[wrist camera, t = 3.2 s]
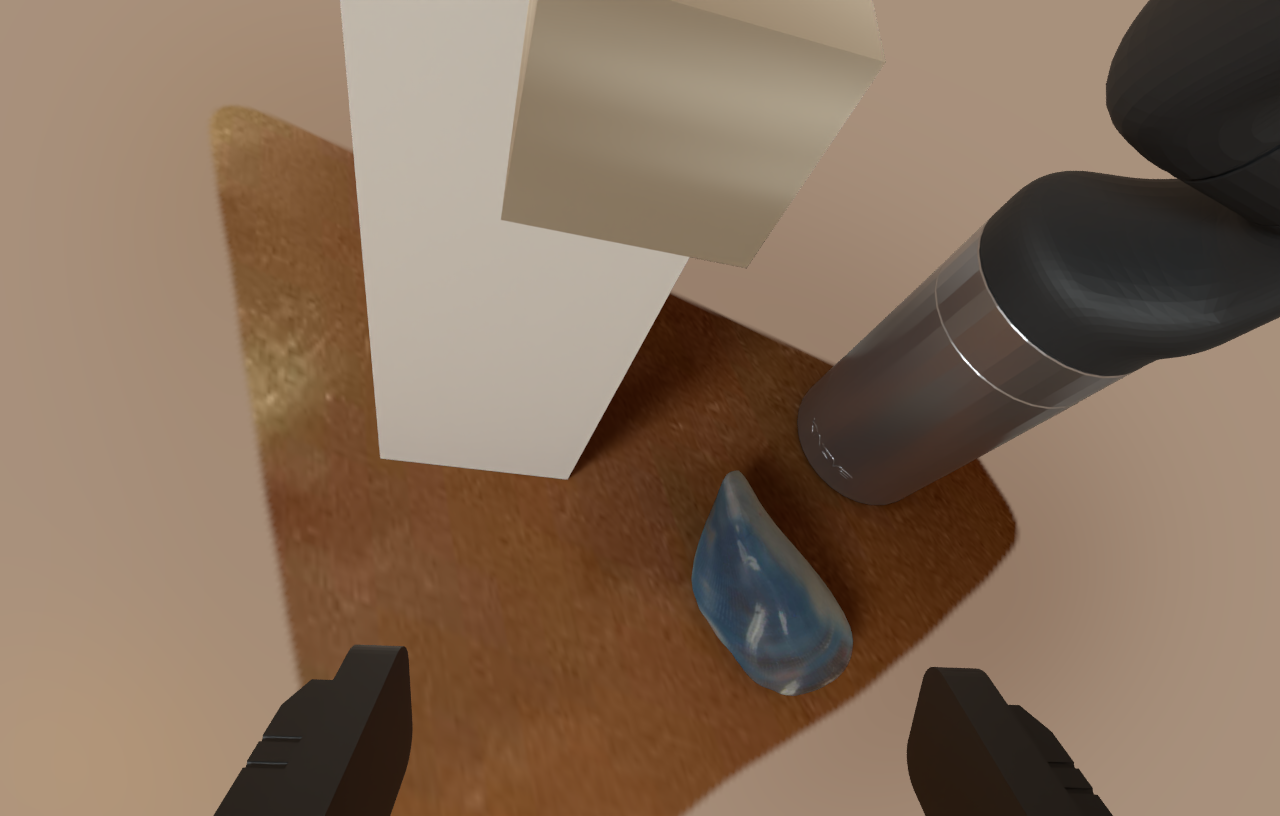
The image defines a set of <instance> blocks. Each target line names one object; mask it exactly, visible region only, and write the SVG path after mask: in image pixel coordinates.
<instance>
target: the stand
mask: <svg viewBox="0 0 1280 816" xmlns="http://www.w3.org/2000/svg"><path fill="white" fill-rule="evenodd" d="M340 4H341V16H342V27H343V38H344V49H345V61H346V72H347V84H348V95H349V107H350V118H351V130H352V141H353V152H354V164H355V175H356V186H357V198H358V209H359V221H360V232H361V243H362V255H363V266H364V278H365V289H366V300H367V312H368V323H369V334H370V346H371V357H372V369H373V380H374V391H375V403H376V414H377V425H378V437H379V448H380V458H382V459H391V460H400V461H409V462H418V463H426V464H435V465H444V466H453V467H462V468H471V469H480V470H488V471H497V472H506V473H515V474H524V475H533V476H541V477H550V478H559V479H568V478H569V476H570V474H571V472H572V470H573V469H574V467H575V465H576V463H577V461H578V460H579V458H580V456H581V454H582V452H583V450H584V449H585V447H586V445H587V443H588V441H589V440H590V438H591V436H592V434H593V432H594V430H595V429H596V427H597V425H598V423H599V421H600V419H601V418H602V416H603V414H604V412H605V410H606V409H607V407H608V405H609V403H610V401H611V399H612V398H613V396H614V394H615V392H616V390H617V389H618V387H619V385H620V383H621V381H622V379H623V378H624V376H625V374H626V372H627V370H628V369H629V367H630V365H631V363H632V361H633V359H634V358H635V356H636V354H637V352H638V350H639V348H640V347H641V345H642V343H643V341H644V339H645V338H646V336H647V334H648V332H649V330H650V328H651V327H652V325H653V323H654V321H655V319H656V318H657V316H658V314H659V312H660V310H661V308H662V307H663V305H664V303H665V301H666V299H667V297H668V296H669V294H670V292H671V290H672V288H673V287H674V285H675V283H676V281H677V279H678V277H679V276H680V274H681V272H682V270H683V268H684V267H685V265H686V263H687V261H688V259H689V257H687V256H681V255H676V254H671V253H666V252H661V251H656V250H651V249H646V248H641V247H636V246H631V245H626V244H621V243H616V242H610V241H605V240H600V239H595V238H590V237H585V236H580V235H575V234H570V233H565V232H560V231H555V230H550V229H545V228H539V227H534V226H529V225H524V224H519V223H514V222H509V221H504V220H501V214H502V206H503V198H504V191H505V183H506V175H507V167H508V159H509V152H510V144H511V136H512V128H513V121H514V113H515V105H516V97H517V89H518V82H519V74H520V66H521V58H522V50H523V43H524V35H525V27H526V19H527V11H528V4H529V0H340Z"/></svg>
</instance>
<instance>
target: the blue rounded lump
mask: <svg viewBox="0 0 1280 816" xmlns="http://www.w3.org/2000/svg"><path fill="white" fill-rule="evenodd" d="M692 587H693V592H694V595H695V597H696V600H697V603H698V606H699V609H700V611H701V612H702V614H703V615H704V616H705V618H706V619H707V621H708V622H709V624H710V626H711V627H712V629H713V631H714V632H715V634H716V635H717V637H718V638H719V639H720V640H721V642H722V643H723V644H724V645H725V646H726V647H727V648H728V649H729V650H730V652H731V653H732V654H733V656H734V657H735V659H736V660H737V662H738V663H739V664H740V665H741V667H742V668H743V669H744V671H745V672H746V673H747V675H748V676H749V677H750V678H751V679H752V680H753V681H755V682H756V683H757V684H759V685H761V686H763V687H766V688H768V689H771V690H773V691H776V692H778V693H780V694H783V695H791V696H796V695H800V694H805V693H808V692H812V691H815V690H818V689H820V688H822V687H824V686H825V685H827V684H829V683H830V682H832V681H833V680H835V679H836V678H837V677H839V676H840V675H841V673H842V672H843V671H844V670H845V668H846V667H847V665H848V663H849V661H850V658H851V655H852V647H853V638H852V632H851V629H850V625H849V623H848V621H847V619H846V617H845V614H844V612H843V611H842V609H841V608H840V606H839V604H838V603H837V601H836V599H835V598H834V596H833V595H832V593H831V591H830V590H829V589H828V587H827V586H826V584H825V583H824V582H823V580H822V579H821V578H820V576H819V575H818V574H817V573H816V572H815V570H814V569H813V568H812V566H811V565H810V564H809V563H808V561H807V560H806V559H805V558H804V557H803V556H802V554H801V553H800V552H799V551H798V550H797V549H796V548H795V546H794V545H793V544H792V543H791V542H790V541H789V539H788V538H787V537H786V536H785V535H784V534H783V533H782V531H781V530H780V529H779V528H778V527H777V525H776V524H775V523H774V522H773V520H772V519H771V517H770V516H769V515H768V513H767V512H766V511H765V509H764V508H763V506H762V505H761V503H760V502H759V500H758V498H757V497H756V495H755V493H754V491H753V490H752V488H751V486H750V485H749V483H748V481H747V480H746V478H745V477H744V476H743V474H742V473H741V472H739V471H732V472H730V473H728V474H727V475H726V476H725V478H724V480H723V482H722V484H721V487H720V489H719V492H718V495H717V498H716V500H715V502H714V505H713V507H712V510H711V512H710V514H709V517H708V519H707V521H706V524H705V527H704V529H703V532H702V535H701V538H700V541H699V544H698V547H697V551H696V555H695V558H694V564H693V571H692Z"/></svg>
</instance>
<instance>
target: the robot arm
mask: <svg viewBox="0 0 1280 816" xmlns="http://www.w3.org/2000/svg"><path fill="white" fill-rule="evenodd" d="M1106 105H1107V109H1108V111H1109V114H1110V117H1111V120H1112V122H1113V124H1114V126H1115V128H1116V129H1117V130H1118V131H1119V133H1120V134H1121V135H1122V136H1123V137H1124V139H1125V140H1126V141H1127V142H1128V143H1129V144H1130V145H1132V146H1133V147H1134V148H1135V149H1136V150H1137V151H1138V152H1139V153H1140V154H1141V155H1142V156H1143V157H1145V158H1146V159H1147V160H1148V161H1150V162H1152V163H1153V164H1154V165H1156V166H1158V167H1159V168H1161V169H1162V170H1165V171H1167V172H1169V173H1170V174H1171V175H1173V176H1174V177H1176V178H1178V179H1140V178H1130V177H1122V176H1115V175H1109V174H1102V173H1095V172H1086V171H1064V172H1057V173H1052V174H1049V175H1046V176H1043V177H1041V178H1038V179H1036V180H1034V181H1032V182H1031V183H1030V184H1028V185H1026V186H1025V187H1023V188H1022V189H1021V190H1020V191H1019V192H1018V193H1016V194H1015V195H1014V196H1013V197H1012V198H1011V199H1010V200H1009V201H1008V202H1007V203H1005V204H1004V205H1003V206H1002V207H1001V208H1000V209H999V210H998V211H997V212H996V213H995V214H994V215H993V216H992V217H991V218H990V219H989V220H988V221H987V222H986V223H985V224H984V225H983V226H981V227H980V228H979V229H978V230H977V231H976V232H975V233H974V234H973V235H972V236H971V237H970V238H969V239H968V240H967V241H966V242H965V243H964V244H962V245H961V246H960V247H959V249H957V250H956V251H955V252H954V253H953V254H952V255H951V256H950V257H949V258H948V259H947V260H946V261H945V262H944V263H943V264H942V265H941V266H940V267H939V268H938V269H937V270H936V271H934V272H933V273H932V274H931V275H930V276H929V277H928V278H927V279H926V280H925V281H924V282H923V283H922V284H921V285H920V286H919V287H918V288H916V290H914V291H913V292H912V293H911V294H910V295H909V296H908V297H907V298H906V299H905V300H904V301H903V302H902V303H901V304H900V305H898V306H897V307H896V308H895V309H894V310H893V311H892V312H891V313H890V314H889V315H888V316H887V317H886V318H885V319H884V320H883V321H882V322H881V323H879V325H877V326H876V327H875V328H874V329H873V330H872V331H871V332H870V333H869V334H868V335H867V336H866V337H865V338H864V339H863V340H861V341H860V342H859V343H858V344H857V345H856V346H855V347H854V348H853V349H852V350H851V351H850V352H849V353H848V354H847V355H846V356H845V357H843V358H842V359H841V360H840V361H839V362H838V363H837V364H836V365H835V366H834V367H833V368H832V369H830V370H829V371H828V372H827V373H826V374H825V375H824V376H823V377H822V378H821V379H820V380H819V381H818V382H817V383H816V384H815V385H814V386H813V387H812V388H810V390H809V391H808V392H807V394H806V395H805V396H804V398H803V400H802V403H801V405H800V408H799V413H798V421H797V423H798V434H799V438H800V442H801V445H802V448H803V451H804V453H805V455H806V457H807V459H808V461H809V463H810V464H811V466H812V467H813V468H814V470H815V471H816V472H817V474H818V475H819V476H820V477H821V478H822V479H823V480H824V481H825V482H826V483H827V484H828V485H829V486H830V487H831V488H833V489H834V490H836V491H837V492H839V493H840V494H842V495H843V496H845V497H847V498H850V499H852V500H854V501H857V502H860V503H865V504H869V505H886V504H890V503H894V502H897V501H899V500H901V499H903V498H904V497H906V496H908V495H910V494H912V493H914V492H916V491H917V490H919V489H921V488H923V487H925V486H927V485H928V484H930V483H932V482H934V481H936V480H938V479H940V478H942V477H944V476H946V475H947V474H949V473H951V472H953V471H955V470H957V469H958V468H960V467H962V466H964V465H966V464H968V463H969V462H971V461H973V460H975V459H977V458H978V457H980V456H982V455H984V454H986V453H988V452H989V451H991V450H993V449H995V448H997V447H999V446H1000V445H1002V444H1004V443H1006V442H1008V441H1009V440H1011V439H1013V438H1015V437H1016V436H1019V435H1020V434H1022V433H1024V432H1026V431H1028V430H1029V429H1031V428H1033V427H1035V426H1037V425H1038V424H1040V423H1042V422H1044V421H1046V420H1048V419H1049V418H1051V417H1053V416H1055V415H1057V414H1059V413H1061V412H1062V411H1064V410H1066V409H1068V408H1069V407H1071V406H1073V405H1075V404H1077V403H1078V402H1079V401H1082V400H1083V399H1085V398H1087V397H1089V396H1091V395H1092V394H1094V393H1096V392H1098V391H1100V390H1102V389H1104V388H1105V387H1107V386H1109V385H1111V384H1113V383H1114V382H1116V381H1118V380H1120V379H1122V378H1123V377H1125V376H1127V375H1129V374H1131V373H1132V372H1134V371H1136V370H1138V369H1140V368H1142V367H1143V366H1145V365H1147V364H1149V363H1151V362H1154V361H1156V360H1159V359H1165V358H1173V357H1181V356H1187V355H1191V354H1195V353H1199V352H1203V351H1206V350H1209V349H1211V348H1214V347H1216V346H1219V345H1221V344H1224V343H1226V342H1228V341H1230V340H1232V339H1234V338H1236V337H1238V336H1241V335H1242V334H1245V333H1247V332H1249V331H1251V330H1253V329H1255V328H1257V327H1260V326H1262V325H1264V324H1266V323H1268V322H1270V321H1272V320H1274V319H1277V318H1279V317H1280V0H1150V1H1148V3H1147V4H1146V5H1145V6H1144V8H1143V9H1142V10H1141V12H1140V13H1139V15H1138V16H1137V17H1136V19H1135V20H1134V21H1133V23H1132V24H1131V26H1130V27H1129V29H1128V31H1127V32H1126V34H1125V35H1124V37H1123V39H1122V41H1121V43H1120V45H1119V47H1118V49H1117V51H1116V53H1115V56H1114V58H1113V60H1112V63H1111V67H1110V71H1109V75H1108V79H1107V83H1106ZM411 742H412V709H411V692H410V676H409V659H408V652H407V649H406V648H405V647H404V646H377V645H354V646H353V647H352V648H351V649H350V650H349V652H348V654H347V656H346V657H345V659H344V661H343V663H342V665H341V667H340V668H339V670H338V672H337V674H336V676H335V678H334V679H333V680H313V679H312V680H311V681H309V682H308V683H307V684H306V685H305V686H303V687H302V688H301V689H300V690H299V691H297V692H296V693H295V694H294V695H293V696H291V697H290V698H289V699H288V700H287V701H285V702H284V703H283V704H282V705H281V707H280V708H279V710H278V712H277V713H276V715H275V716H274V718H273V720H272V721H271V723H270V724H269V726H268V728H267V729H266V731H265V733H264V734H263V739H262V741H260V742H258V744H257V746H256V748H255V749H254V750H253V752H252V754H251V755H250V757H249V759H248V760H247V765H246V768H242V770H241V772H240V773H239V775H238V777H237V778H236V780H235V782H234V783H233V785H232V787H231V788H230V790H229V791H228V793H227V795H226V796H225V798H224V799H223V801H222V803H221V804H220V806H219V808H218V809H217V811H216V813H215V814H214V816H390V814H391V812H392V809H393V806H394V803H395V800H396V797H397V794H398V792H399V789H400V786H401V783H402V780H403V777H404V774H405V771H406V768H407V764H408V760H409V755H410V750H411ZM907 764H908V771H909V776H910V780H911V783H912V786H913V789H914V791H915V793H916V795H917V798H918V800H919V802H920V804H921V807H922V809H923V811H924V813H925V816H1113V815H1112V814H1111V813H1110V811H1109V810H1108V808H1107V807H1106V806H1105V804H1104V803H1103V802H1102V800H1101V799H1100V797H1099V796H1098V795H1094V794H1093V788H1092V787H1091V785H1090V784H1089V782H1088V781H1087V780H1086V778H1085V777H1084V776H1083V774H1082V773H1081V771H1080V770H1079V769H1075V767H1074V762H1073V761H1072V759H1071V758H1070V756H1069V755H1068V754H1067V752H1066V751H1065V749H1064V748H1063V747H1062V746H1061V744H1060V743H1059V741H1058V740H1057V738H1056V737H1055V736H1054V734H1053V733H1052V732H1051V731H1050V730H1049V729H1048V728H1046V727H1045V726H1044V725H1043V724H1041V723H1040V722H1039V721H1038V720H1037V719H1035V718H1034V717H1033V716H1032V715H1031V714H1029V713H1028V712H1027V711H1026V710H1024V709H1023V708H1022V707H1021V706H1019V705H1008V704H1007V703H1006V702H1005V700H1004V699H1003V697H1002V696H1001V694H1000V693H999V691H998V690H997V689H996V687H995V686H994V684H993V683H992V681H991V680H990V678H989V677H988V676H987V674H986V673H985V672H983V671H982V670H980V669H970V668H942V667H931V668H929V669H928V670H927V671H926V673H925V675H924V677H923V681H922V685H921V689H920V693H919V698H918V702H917V706H916V710H915V714H914V718H913V723H912V727H911V731H910V735H909V739H908V744H907Z"/></svg>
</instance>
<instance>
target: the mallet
mask: <svg viewBox="0 0 1280 816" xmlns="http://www.w3.org/2000/svg"><path fill="white" fill-rule="evenodd" d="M884 64H885V57H884V52H883V48H882V43H881V38H880V34H879V29H878V24H877V19H876V15H875V10H874V5H873V0H529V4H528V11H527V19H526V27H525V35H524V43H523V50H522V58H521V66H520V74H519V82H518V89H517V97H516V105H515V113H514V121H513V128H512V136H511V144H510V152H509V159H508V167H507V175H506V183H505V191H504V198H503V206H502V214H501V220H504V221H509V222H514V223H519V224H524V225H529V226H534V227H539V228H545V229H550V230H555V231H560V232H565V233H570V234H575V235H580V236H585V237H590V238H595V239H600V240H605V241H610V242H616V243H621V244H626V245H631V246H636V247H641V248H646V249H651V250H656V251H661V252H666V253H671V254H676V255H681V256H687V257H692V258H697V259H702V260H707V261H712V262H717V263H722V264H728V265H732V266H737V267H742V268H747V267H748V265H749V264H750V262H751V261H752V260H753V258H754V256H755V255H756V254H757V252H758V251H759V249H760V248H761V246H762V244H763V243H764V242H765V240H766V239H767V237H768V236H769V234H770V232H771V231H772V230H773V228H774V227H775V225H776V224H777V222H778V221H779V219H780V218H781V217H782V215H783V213H784V212H785V211H786V209H787V208H788V206H789V205H790V203H791V201H792V200H793V199H794V197H795V196H796V194H797V193H798V191H799V190H800V188H801V187H802V185H803V184H804V182H805V181H806V179H807V178H808V176H809V175H810V173H811V172H812V171H813V169H814V168H815V166H816V165H817V163H818V162H819V160H820V159H821V157H822V155H823V154H824V153H825V151H826V150H827V148H828V147H829V145H830V144H831V142H832V141H833V139H834V138H835V136H836V135H837V134H838V132H839V131H840V129H841V128H842V126H843V125H844V123H845V122H846V120H847V119H848V117H849V116H850V114H851V113H852V111H853V110H854V108H855V107H856V105H857V104H858V102H859V101H860V99H861V98H862V96H863V95H864V94H865V92H866V91H867V89H868V87H869V86H870V85H871V83H872V82H873V80H874V79H875V77H876V75H877V74H878V73H879V71H880V70H881V68H882V67H883V65H884Z"/></svg>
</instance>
